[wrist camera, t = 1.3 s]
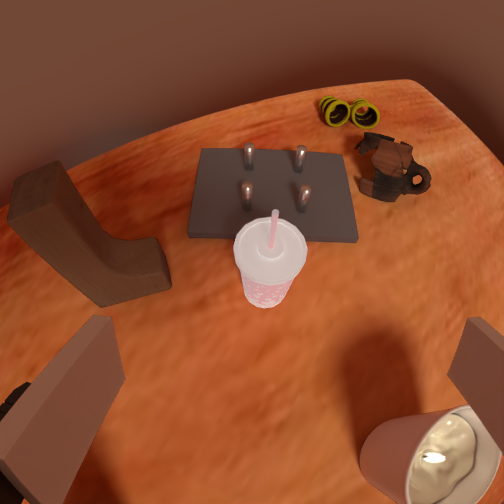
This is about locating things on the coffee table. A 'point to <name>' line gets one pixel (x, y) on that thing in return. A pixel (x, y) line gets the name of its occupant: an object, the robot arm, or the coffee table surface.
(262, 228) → the beverage cup
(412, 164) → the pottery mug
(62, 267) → the wooden block
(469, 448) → the candle holder
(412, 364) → the coffee table surface
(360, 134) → the coffee table surface
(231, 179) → the cup stand
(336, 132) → the coffee table surface
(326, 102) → the opera glasses
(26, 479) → the robot arm
